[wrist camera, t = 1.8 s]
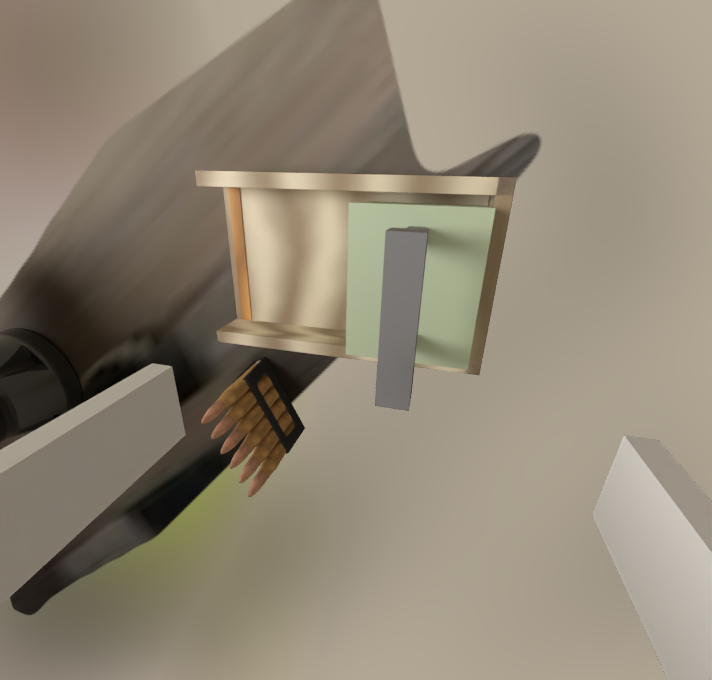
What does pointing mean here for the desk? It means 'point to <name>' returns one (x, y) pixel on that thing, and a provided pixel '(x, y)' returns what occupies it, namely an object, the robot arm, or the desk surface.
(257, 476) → the ammunition clip
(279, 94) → the desk surface
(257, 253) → the bay
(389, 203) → the green panel with handle
